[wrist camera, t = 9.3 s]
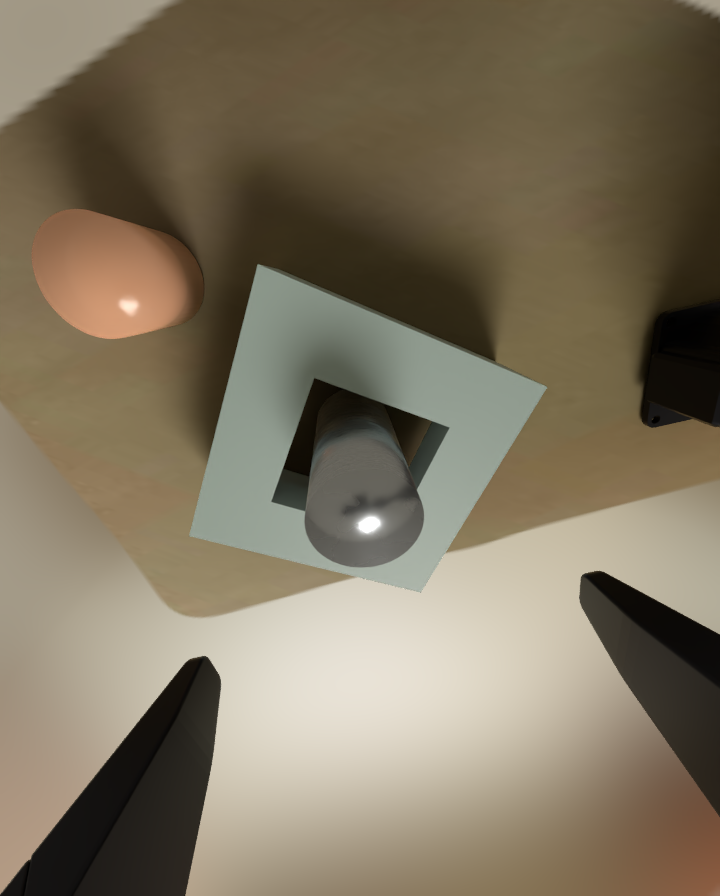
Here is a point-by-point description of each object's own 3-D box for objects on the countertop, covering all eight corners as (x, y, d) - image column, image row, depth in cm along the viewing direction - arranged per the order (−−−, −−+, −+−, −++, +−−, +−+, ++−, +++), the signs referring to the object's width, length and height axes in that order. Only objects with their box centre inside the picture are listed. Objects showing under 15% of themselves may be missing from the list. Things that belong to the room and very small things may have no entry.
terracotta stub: (157, 208, 15) (87, 179, 11) (222, 293, 17) (181, 296, 12) (93, 266, 16) (5, 259, 12) (160, 342, 17) (102, 360, 13)
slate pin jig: (495, 361, 19) (547, 387, 15) (403, 532, 24) (420, 592, 19) (277, 268, 16) (257, 264, 12) (219, 480, 21) (189, 536, 16)
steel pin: (380, 380, 19) (414, 457, 11) (394, 446, 21) (431, 554, 13) (308, 397, 19) (288, 485, 11) (327, 461, 21) (322, 577, 13)
